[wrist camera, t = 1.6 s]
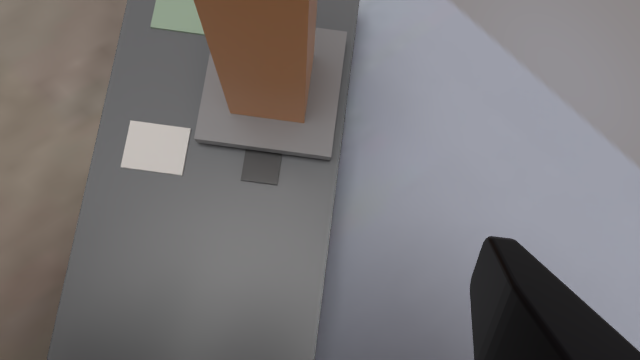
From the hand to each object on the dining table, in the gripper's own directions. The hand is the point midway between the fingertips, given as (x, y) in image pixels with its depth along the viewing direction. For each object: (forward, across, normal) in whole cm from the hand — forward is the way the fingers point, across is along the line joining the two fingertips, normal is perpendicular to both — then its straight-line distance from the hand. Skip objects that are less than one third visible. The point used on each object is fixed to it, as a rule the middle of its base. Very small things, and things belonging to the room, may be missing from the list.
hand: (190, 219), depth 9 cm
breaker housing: (+9, +2, +9) cm, 13 cm away
